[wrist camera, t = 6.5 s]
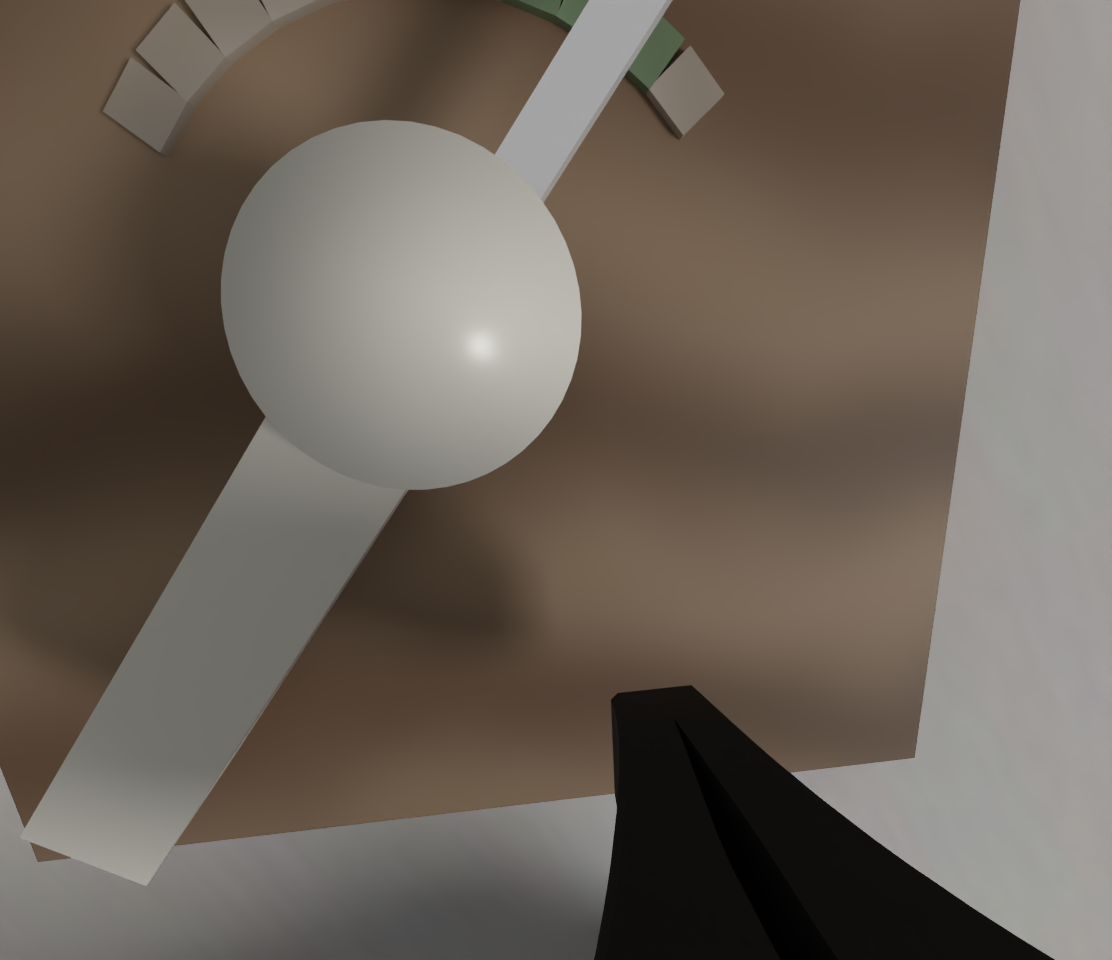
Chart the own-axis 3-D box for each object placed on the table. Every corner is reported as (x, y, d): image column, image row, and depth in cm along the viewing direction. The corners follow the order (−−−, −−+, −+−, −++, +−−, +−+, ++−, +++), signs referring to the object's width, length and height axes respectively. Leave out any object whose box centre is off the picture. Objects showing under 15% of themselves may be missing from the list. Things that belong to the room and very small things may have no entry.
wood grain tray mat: (880, 723, 14) (920, 764, 12) (81, 813, 12) (29, 871, 11) (977, -103, 9) (1056, -179, 8) (-245, -101, 8) (-399, -193, 7)
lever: (554, -64, 8) (595, -458, 4) (731, 99, 9) (910, -101, 5) (125, 666, 10) (-111, 861, 6) (294, 745, 11) (176, 962, 7)
